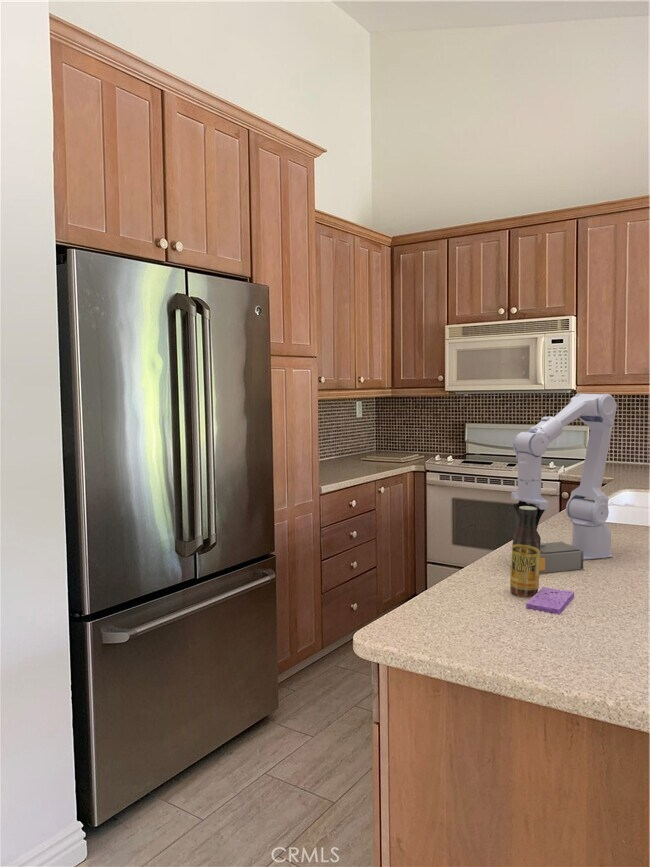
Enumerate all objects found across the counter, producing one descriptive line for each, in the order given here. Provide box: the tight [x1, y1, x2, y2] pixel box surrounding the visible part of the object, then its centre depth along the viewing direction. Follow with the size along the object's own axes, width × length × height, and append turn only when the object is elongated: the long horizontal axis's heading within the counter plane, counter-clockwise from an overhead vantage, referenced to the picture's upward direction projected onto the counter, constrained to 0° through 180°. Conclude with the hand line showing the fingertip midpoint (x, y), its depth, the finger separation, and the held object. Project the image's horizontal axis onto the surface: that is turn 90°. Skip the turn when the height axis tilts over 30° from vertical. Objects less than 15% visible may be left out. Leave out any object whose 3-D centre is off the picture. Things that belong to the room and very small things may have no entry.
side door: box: [539, 551, 584, 574], centre depth 165 cm, size 14×1×4 cm, turn 103°
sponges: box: [525, 586, 575, 615], centre depth 143 cm, size 7×13×2 cm, turn 146°
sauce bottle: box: [509, 506, 541, 598], centre depth 148 cm, size 7×6×20 cm
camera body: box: [540, 541, 580, 554], centre depth 170 cm, size 11×8×6 cm
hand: (528, 532), depth 167 cm, fingers closed
